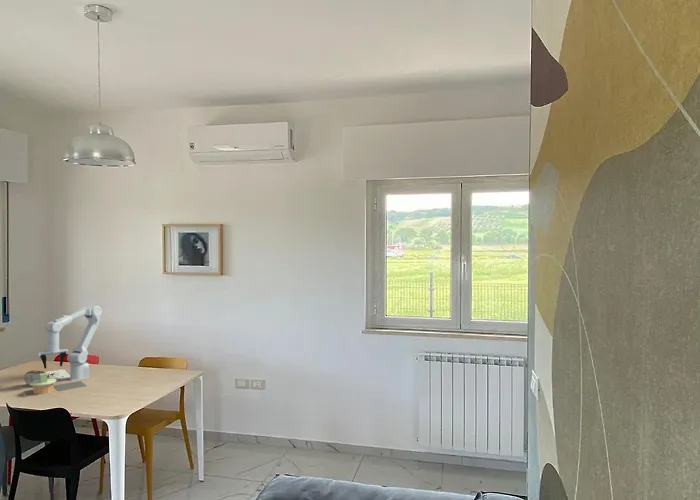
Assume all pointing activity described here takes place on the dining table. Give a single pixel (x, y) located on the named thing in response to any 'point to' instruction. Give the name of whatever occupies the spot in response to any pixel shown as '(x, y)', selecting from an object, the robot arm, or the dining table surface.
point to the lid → (42, 380)
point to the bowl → (43, 389)
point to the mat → (69, 386)
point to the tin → (33, 376)
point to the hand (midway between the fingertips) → (53, 367)
